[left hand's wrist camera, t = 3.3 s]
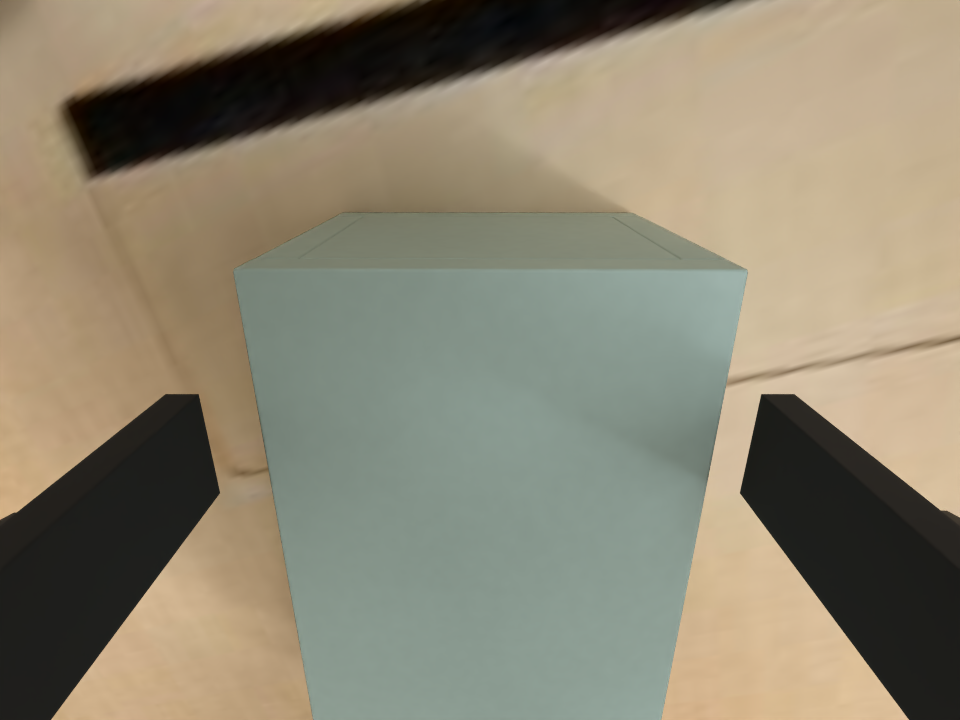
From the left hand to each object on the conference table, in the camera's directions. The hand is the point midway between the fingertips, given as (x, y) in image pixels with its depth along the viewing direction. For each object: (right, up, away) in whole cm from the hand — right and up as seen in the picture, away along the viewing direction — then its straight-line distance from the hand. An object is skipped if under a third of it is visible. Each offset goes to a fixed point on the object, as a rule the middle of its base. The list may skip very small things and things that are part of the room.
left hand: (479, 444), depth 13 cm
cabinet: (0, -3, +11) cm, 11 cm away
